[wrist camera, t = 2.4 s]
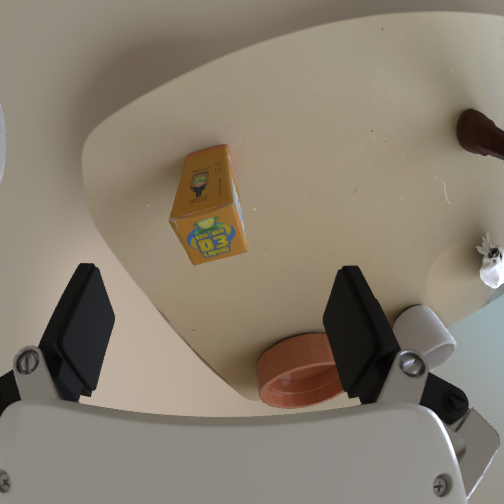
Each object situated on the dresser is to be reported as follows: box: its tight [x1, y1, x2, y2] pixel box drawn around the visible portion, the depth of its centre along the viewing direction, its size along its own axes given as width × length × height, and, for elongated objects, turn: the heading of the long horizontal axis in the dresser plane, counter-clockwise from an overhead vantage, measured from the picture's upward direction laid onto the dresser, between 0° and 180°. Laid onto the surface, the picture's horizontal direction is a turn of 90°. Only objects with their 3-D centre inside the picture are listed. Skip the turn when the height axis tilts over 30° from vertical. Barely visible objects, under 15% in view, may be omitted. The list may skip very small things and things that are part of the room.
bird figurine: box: [476, 232, 504, 288], centre depth 29 cm, size 5×7×10 cm
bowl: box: [256, 333, 344, 409], centre depth 37 cm, size 13×13×5 cm
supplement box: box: [169, 144, 248, 265], centre depth 18 cm, size 3×3×10 cm
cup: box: [393, 305, 456, 372], centre depth 34 cm, size 11×8×8 cm
